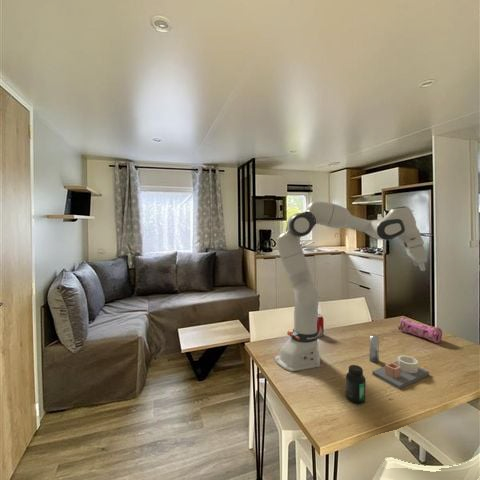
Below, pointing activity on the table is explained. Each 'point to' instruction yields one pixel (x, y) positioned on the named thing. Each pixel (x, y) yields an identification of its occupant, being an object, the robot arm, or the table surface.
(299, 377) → the table surface
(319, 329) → the soda can
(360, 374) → the supplement bottle
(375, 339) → the metal peg
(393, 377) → the holder board
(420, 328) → the pencil case
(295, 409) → the table surface
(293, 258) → the robot arm
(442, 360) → the table surface
